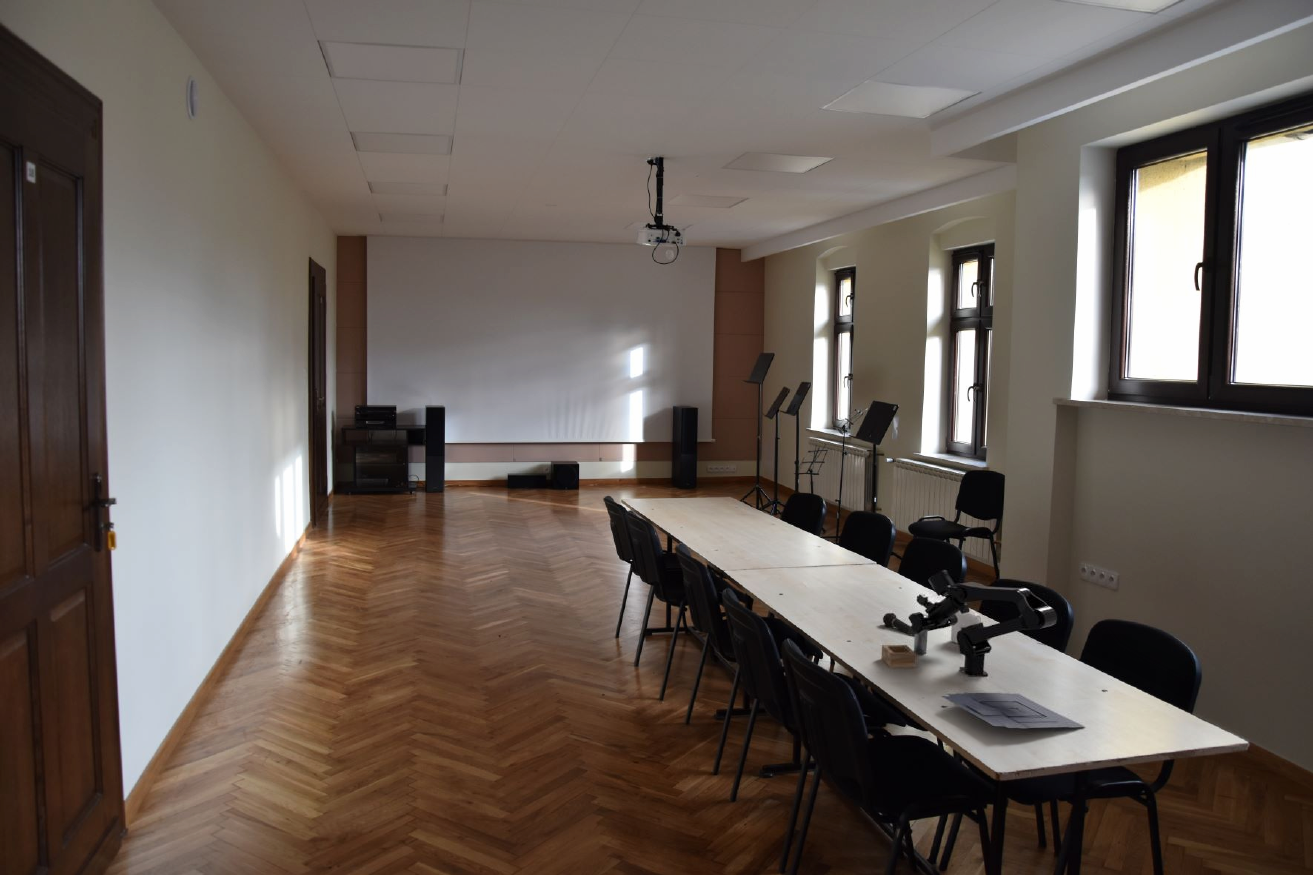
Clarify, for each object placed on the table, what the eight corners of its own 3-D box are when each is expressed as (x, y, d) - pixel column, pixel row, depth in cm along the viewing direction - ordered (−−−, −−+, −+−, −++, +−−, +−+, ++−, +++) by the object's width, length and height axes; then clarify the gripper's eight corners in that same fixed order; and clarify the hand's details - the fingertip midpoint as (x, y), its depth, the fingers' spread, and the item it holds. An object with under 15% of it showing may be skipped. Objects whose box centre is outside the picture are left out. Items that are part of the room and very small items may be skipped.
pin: (928, 654, 284) (930, 617, 283) (916, 654, 284) (918, 617, 283) (923, 650, 288) (925, 613, 287) (911, 650, 288) (913, 613, 287)
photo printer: (948, 640, 299) (950, 605, 298) (957, 639, 301) (959, 604, 300) (972, 650, 290) (975, 614, 289) (981, 648, 292) (983, 612, 291)
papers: (933, 702, 242) (936, 690, 241) (1015, 702, 253) (1017, 690, 253) (998, 739, 219) (1000, 725, 219) (1084, 737, 230) (1087, 723, 230)
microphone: (927, 646, 302) (886, 625, 317) (933, 631, 302) (891, 611, 317) (919, 644, 299) (877, 623, 314) (924, 629, 299) (883, 609, 314)
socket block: (915, 667, 272) (915, 653, 272) (890, 667, 272) (891, 653, 271) (905, 658, 280) (906, 644, 280) (881, 658, 279) (882, 645, 279)
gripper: (952, 582, 286) (923, 606, 296) (914, 589, 276) (886, 614, 286) (971, 612, 280) (941, 635, 290) (933, 620, 270) (903, 644, 280)
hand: (917, 631), depth 287 cm, fingers open, 8 cm apart
